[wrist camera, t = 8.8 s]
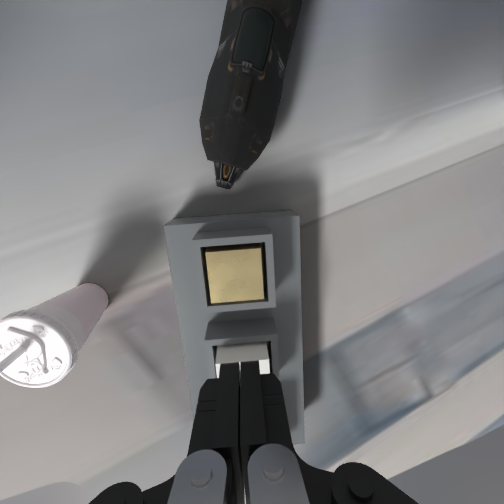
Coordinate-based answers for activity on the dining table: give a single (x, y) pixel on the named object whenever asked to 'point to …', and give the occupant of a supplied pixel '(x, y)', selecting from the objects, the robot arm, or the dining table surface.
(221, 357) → the white square block
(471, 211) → the dining table surface
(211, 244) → the console
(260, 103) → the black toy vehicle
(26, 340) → the smoothie
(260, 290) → the brass metal cube
